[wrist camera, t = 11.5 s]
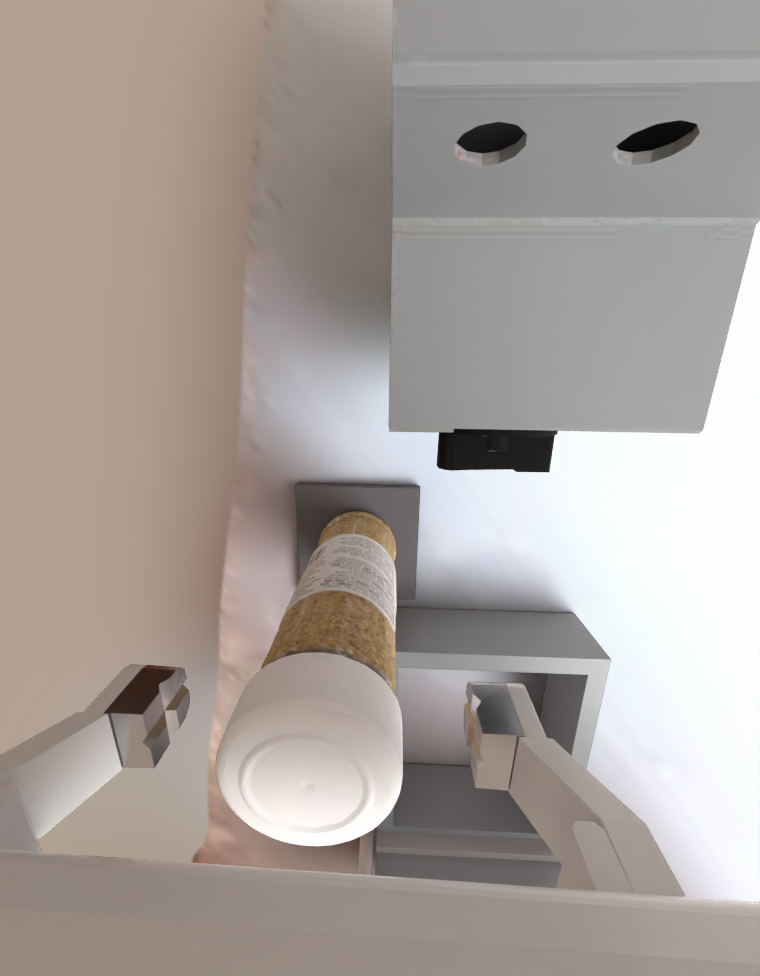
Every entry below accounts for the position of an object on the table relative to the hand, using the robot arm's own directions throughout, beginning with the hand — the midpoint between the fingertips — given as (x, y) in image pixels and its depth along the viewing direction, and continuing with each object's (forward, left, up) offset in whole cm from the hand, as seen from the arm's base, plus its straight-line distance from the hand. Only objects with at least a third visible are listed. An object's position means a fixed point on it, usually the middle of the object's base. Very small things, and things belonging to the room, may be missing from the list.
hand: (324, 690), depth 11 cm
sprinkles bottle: (+1, 0, -11) cm, 11 cm away
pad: (+1, 0, -12) cm, 12 cm away
